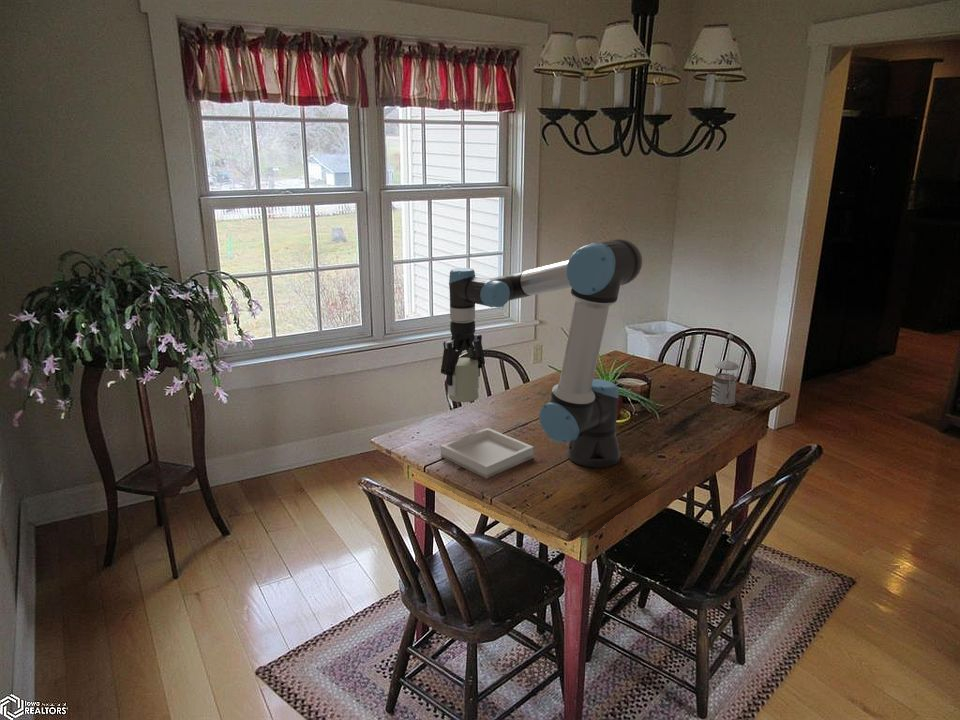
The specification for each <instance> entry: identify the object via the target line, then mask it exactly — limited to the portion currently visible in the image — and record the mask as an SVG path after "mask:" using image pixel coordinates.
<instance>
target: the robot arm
mask: <svg viewBox="0 0 960 720" xmlns="http://www.w3.org/2000/svg"><path fill="white" fill-rule="evenodd" d="M642 266H643V256H642V254H641V251H640V250H639V248H638V246H636V245H635V244H634V243H633V242H631V241H629V240H627V239H621V238H617V239H611V240H607V241H606V240H605V241H602V242H592V243H588V244H586V245H584V246H581V247H579V248H577V249H576V250H575V251H574V252H573V253H572V255H571V256H570V257H569V259H568V260H563V261H559V262H555V263H552V264H548V265H547V264H546V265H544V266H538V267H535V268H530V269H527V270H522V271H518V272H515V273H512V274H511V273H510V274H506V275H502V276H501V275H500V276H497V277H492V278H482V277H481V278H480V277H476V273H475V272H476V271H475V270H474V269H473V268H470V267H456V268H452V269H451V270H450V271H449V279H448V281H449V282H448V286H449V314H450V315H449V319H450V323H449V325H450V326H449V327H450V329H449V330H450V333H451V339H450V340H448V341H443V342H442V343H443V354H442V361H441V367H440V374H443V375H445V376H446V385H447V391H448V392H447V394H448V396H449V395H452V396H456V375H453V374H454V371H455V366H456V365H457V362H458V359H459V358H460V356H461V355H462V353H463V352H464V351H466V352H467V355H468V358H470V359H473V360H477V361H478V389H480V385H479V384H480V382H479V381H480V379H479V378H480V376H481V369H483V365H485V364H486V361H485V359H486V358H485V354H484V349H483V345H482V344H483V343H482V338H483V335H481V334H480V333H479V334H478V333H476V321H475V319H476V304H477V305H480V306H486V307H488V308H499V309H500V308H502V307H504V306H505V305H506V304H507V303H508V302H510V301H513V300H519V299H522V298H526V297H531V296H535V295H539V294H545V293H550V292H551V293H552V292H555V291H559V290H564V289H570V288H571V289H570V294H571V296H573V298H574V301H575V302H574V306H573V311H572V317H571V321H570V326H569V330H568V331H569V332H568V336H567V341H566V347H565V351H564V357H563V362H562V367H561V372H560V375H559V376H560V378H559V382H558V383H556V384H554V385H553V386H552V389H551V393H550V398H549V401H548V402H546V403H544V405H542V407H541V408H540V411H539V415H538V416H539V417H538V418H539V419H538V420H539V424H540V427H541V428H542V429H543V432H544V433H545V434H546V435H547V436H548V438H550V439H551V440H552V441H555V442H557V443H562V444H563V443H568V446H567V457H568V459H569V460H571V462H573V463H575V464H577V465H580V466H583V467H588V468H600V469H601V468H609V467H611V466H615V465H616V464H618V463H619V462H620V461H621V449H620V445H619V442H618V438H617V421H618V420H617V417H618V406H619V398H620V396H619V387H618V386H617V384H615V383H613V382H611V381H609V380H605V379H599V378H595V374H596V368H597V363H598V360H599V355H600V350H601V345H602V341H603V336H604V332H605V327H606V324H607V317H608V314H609V309H610V307H611V306H612V305H614V304H616V303H617V301H618V298H619V293H620V289H621V286H624V285H627V284H629V283H631V282H632V281H634V280H635V279H636V278H637V277H638V276H639V274H640V273H641V270H642Z"/></svg>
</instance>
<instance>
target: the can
mask: <svg viewBox="0 0 960 720" xmlns="http://www.w3.org/2000/svg"><path fill="white" fill-rule="evenodd" d="M453 375H456V396H452V395H449V394H448V399H449V400H450V401H453V402H457V403H470V402H471V403H472V402H474V401H476V400H478V399H479V388H478V361H477V360H473V359H470V357H459V359H458V362H457V365H456V366H455V371H454V374H453Z"/></svg>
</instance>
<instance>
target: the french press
mask: <svg viewBox="0 0 960 720" xmlns="http://www.w3.org/2000/svg"><path fill="white" fill-rule="evenodd" d="M726 337H727V338H728V339H733V338H734V335H733V334H728V335H727V336H726ZM730 346H731V340H729V342H728V350H727V351H728V353H727V358H726V360H720V361H717V362H716V363H714V367H715V368H716V369H719V370H722V371H723V370H725V372H724V373H716V374H715V375H714V377H715V378H713V381H712V389H711V391H712V392H711V395H710V396H711V397H710V398H711V401H712V402H716V403H719V404H732V403H735V402H736V400H735V399H736V392H737V391H736V388H737V383H738V381H737V380H736V379H737V377H736V376H735V373H732V374H731V373H727V371H737V370H738V369H739V368H740V366H739V364H737V363H736V362H734V361H731V360H729V356H730V355H729V353H730Z"/></svg>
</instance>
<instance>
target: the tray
mask: <svg viewBox="0 0 960 720" xmlns="http://www.w3.org/2000/svg"><path fill="white" fill-rule="evenodd" d="M441 456H442V458H443V457H444V458H443V459H445V458H446V459H445V460H447V459H448V460H447V461H449V460H450V461H449V462H451V461H452V462H451V463H453V462H454V464H455V465H457V464H458V466H459V465H460V466H459V467H461V466H462V467H461V468H462V469H463V468H464V469H466V470H468V471H470V472H471V473H473V474H476V475H477V476H480V477H482V478H483V479H486V480H487V479H489V478H491V477H494V476H495V475H497V474H500V473H502V472H504V471H506V470H509V469H512V468H513V467H516V466H519V465H520V464H523V463H525V462H527V461H529V460H532V459H534V446H532V445H530V444H528V443H526V442H523V441H521V440H518V439H516V438H513V437H511V436H509V435H507V434H504V433H501V432H499V431H497V430H494V429H492V428H490V427H486V428H483V429H480V430H478V431H475V432H473V433H469V434H467V435H464V436H462V437H459V438H457V439H454V440H452V441H449V442H446V443H443V444H441V445H440V457H441Z"/></svg>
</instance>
